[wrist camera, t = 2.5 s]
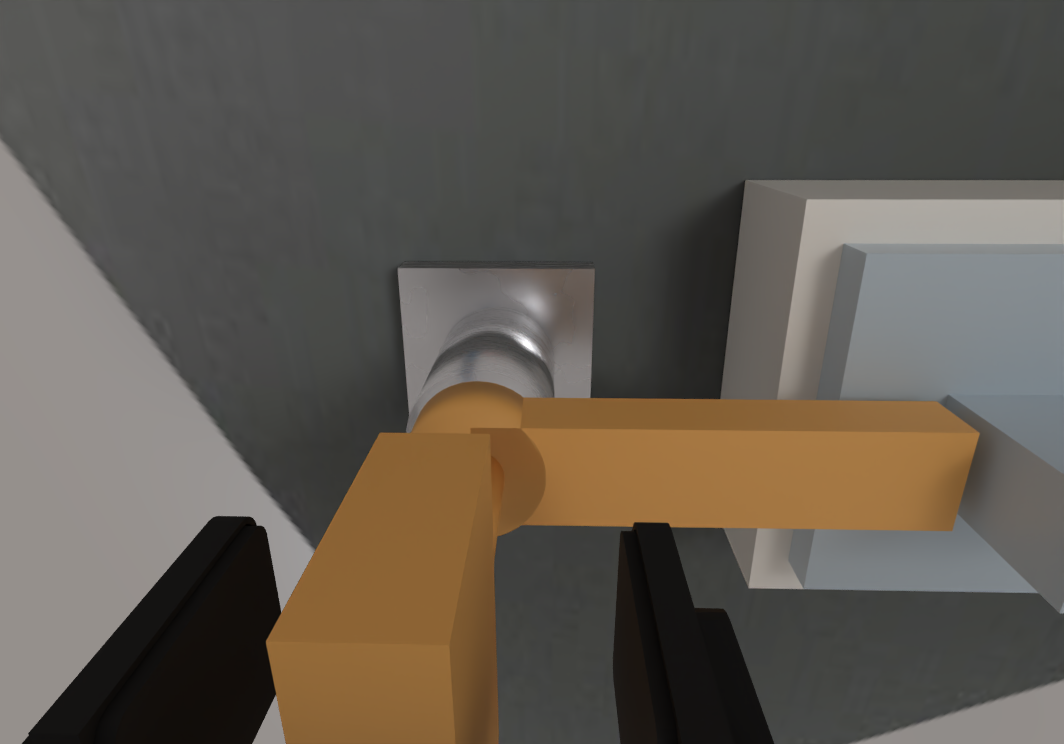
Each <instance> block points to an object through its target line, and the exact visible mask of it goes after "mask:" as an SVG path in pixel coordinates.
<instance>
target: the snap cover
mask: <svg viewBox="0 0 1064 744" xmlns="http://www.w3.org/2000/svg"><path fill="white" fill-rule="evenodd" d="M816 400H855V401H937V402H938V403H940V404H941V405H942V406H944V407H945V408H946V409H948V410H949V411H950V412H952V413H953V414H955V415H956V416H957V417H959V418H960V419H961V420H963V421H964V422H965V423H967V424H968V425H970V426H971V427H972V428H974V429H975V430H976V431H978V432H979V433H980V435H979V438H978V442H977V445H976V449H975V452H974V456H973V459H972V463H971V466H970V470H969V473H968V477H967V481H966V484H965V488H964V491H963V495H962V498H961V502H960V505H959V509H958V512H957V516H956V519H955V523H954V527H953V530H952V531H904V530H835V529H794V530H793V536H792V541H791V547H790V553H789V559H788V561H789V563H790V565H791V567H792V568H793V570H794V572H795V574H796V576H797V578H798V580H799V582H800V583H801V585H802V587H803V589H830V590H889V591H948V592H1008V593H1039V594H1040V595H1041V596H1042V597H1043V598H1044V599H1045V600H1046V601H1047V602H1048V603H1049V604H1051V605H1052V606H1053V607H1054V608H1055V609H1056V610H1057V611H1058V612H1059V613H1064V244H852V243H844V244H843V250H842V255H841V261H840V267H839V272H838V278H837V284H836V290H835V295H834V301H833V307H832V313H831V318H830V324H829V330H828V335H827V341H826V347H825V353H824V358H823V364H822V370H821V375H820V381H819V387H818V393H817V398H816Z"/></svg>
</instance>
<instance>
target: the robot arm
mask: <svg viewBox="0 0 1064 744" xmlns="http://www.w3.org/2000/svg"><path fill="white" fill-rule="evenodd" d="M280 615H281V609H280V603H279V598H278V592H277V587H276V581H275V576H274V570H273V565H272V559H271V554H270V549H269V543H268V538H267V533H266V530H265V528H264V527H263V526H257V525H256V522H255V520H254V519H253V518H251V517H237V516H217V517H213V518H212V519H211V520H210V521H209V522H208V523H207V524H206V525H205V526H204V528H203V529H202V530H201V531H200V532H199V533H198V535H197V536H196V537H195V538H194V539H193V541H192V542H191V543H190V544H189V545H188V546H187V548H186V549H185V550H184V551H183V552H182V553H181V555H180V556H179V557H178V558H177V559H176V560H175V562H174V563H173V564H172V565H171V566H170V568H169V569H168V570H167V571H166V572H165V573H164V575H163V576H162V577H161V578H160V579H159V580H158V582H157V583H156V584H155V585H154V586H153V588H152V589H151V590H150V591H149V592H148V594H147V595H146V596H145V597H144V598H143V599H142V601H141V602H140V603H139V604H138V605H137V607H136V608H135V609H134V610H133V611H132V612H131V613H130V615H129V616H128V617H127V618H126V619H125V621H124V622H123V623H122V624H121V625H120V626H119V627H118V629H117V630H116V631H115V632H114V633H113V635H112V636H111V637H110V638H109V639H108V640H107V642H106V643H105V644H104V645H103V646H102V648H101V649H100V650H99V651H98V652H97V653H96V654H95V656H94V657H93V658H92V659H91V660H90V662H89V663H88V664H87V665H86V666H85V667H84V669H83V670H82V671H81V672H80V673H79V674H78V676H77V677H76V678H75V679H74V680H73V682H72V683H71V684H70V685H69V686H68V687H67V689H66V690H65V691H64V692H63V693H62V694H61V696H60V697H59V698H58V699H57V700H56V701H55V703H54V704H53V705H52V706H51V707H50V709H49V710H48V711H47V712H46V713H45V715H44V716H43V717H42V718H41V719H40V720H39V722H38V723H37V724H36V725H35V726H34V727H33V729H32V730H31V731H30V732H29V733H28V734H29V736H28V737H27V738H26V739H25V741H24V742H23V743H22V744H252V743H253V741H254V739H255V737H256V735H257V733H258V730H259V728H260V726H261V724H262V722H263V720H264V718H265V716H266V714H267V711H268V709H269V708H270V705H271V703H272V701H273V699H274V697H275V695H276V691H275V686H274V681H273V676H272V671H271V666H270V661H269V656H268V650H267V645H266V640H267V638H268V637H269V635H270V633H271V631H272V629H273V627H274V626H275V624H276V622H277V620H278V618H279V616H280ZM613 677H614V688H615V697H616V706H617V715H618V724H619V733H620V742H621V744H774V742H773V739H772V736H771V734H770V731H769V728H768V725H767V722H766V720H765V717H764V714H763V711H762V708H761V706H760V703H759V700H758V697H757V694H756V692H755V689H754V686H753V683H752V680H751V678H750V675H749V672H748V669H747V666H746V664H745V661H744V658H743V655H742V652H741V650H740V647H739V644H738V641H737V638H736V636H735V633H734V630H733V627H732V624H731V622H730V619H729V617H728V615H727V613H726V611H725V610H724V609H712V608H694V605H693V602H692V598H691V595H690V592H689V588H688V585H687V581H686V578H685V575H684V571H683V568H682V564H681V561H680V557H679V554H678V551H677V547H676V544H675V540H674V537H673V534H672V530H671V527H670V525H669V523H659V522H634V524H633V529H632V531H621V534H620V548H619V565H618V582H617V600H616V617H615V635H614V652H613Z"/></svg>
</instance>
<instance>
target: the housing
mask: <svg viewBox="0 0 1064 744" xmlns="http://www.w3.org/2000/svg"><path fill="white" fill-rule="evenodd" d="M844 243H852V244H1064V180H745V188H744V196H743V205H742V214H741V222H740V231H739V240H738V249H737V257H736V266H735V275H734V283H733V292H732V301H731V309H730V318H729V327H728V336H727V344H726V353H725V362H724V370H723V379H722V388H721V397H720V399H746V400H816V398H817V393H818V387H819V381H820V375H821V370H822V364H823V358H824V353H825V347H826V341H827V335H828V330H829V324H830V318H831V313H832V307H833V301H834V295H835V290H836V284H837V278H838V272H839V267H840V261H841V255H842V250H843V244H844ZM723 529H724V531H725V533H726V536H727V538H728V541H729V543H730V545H731V548H732V550H733V552H734V555H735V557H736V560H737V562H738V564H739V567H740V569H741V571H742V574H743V576H744V579H745V581H746V583H747V586H748V588H769V589H803V587H802V585H801V583H800V582H799V580H798V578H797V576H796V574H795V572H794V570H793V568H792V567H791V565H790V563H789V561H788V559H789V553H790V547H791V541H792V536H793V530H794V529H766V528H723ZM829 590H830V589H829ZM888 591H889V590H888ZM947 592H948V591H947ZM1006 593H1008V592H1006Z"/></svg>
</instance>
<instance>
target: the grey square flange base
mask: <svg viewBox="0 0 1064 744" xmlns="http://www.w3.org/2000/svg"><path fill="white" fill-rule="evenodd" d="M594 277H595V268H594V265H593V262H431V261H404V262H403V263H402V264H401V265H400V266H399V267H398V280H399V293H400V305H401V318H402V330H403V343H404V355H405V368H406V381H407V393H408V406H409V419H408V422H407V428H406V433H411V431H412V429H413V427H414V424H415V422H416V420H417V418H418V416H419V414H420V412H421V410H422V409H423V407H424V406H425V404H426V403H427V402H428V401H429V400H430V399H431V398H432V397H433V396H435V395H436V394H437V393H439V392H440V391H442V390H443V389H446V388H448V387H450V386H452V385H456V384H459V383H464V382H471V381H483V382H491V383H496V384H499V385H502V386H505V387H507V388H509V389H511V390H513V391H515V392H516V393H518V394H520V395H521V396H522V397H528V398H590V394H591V365H592V335H593V306H594Z"/></svg>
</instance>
